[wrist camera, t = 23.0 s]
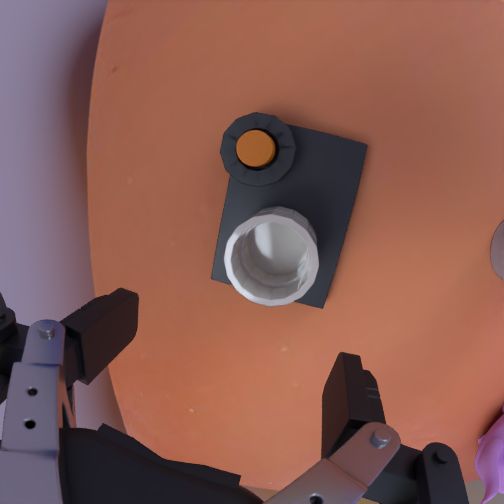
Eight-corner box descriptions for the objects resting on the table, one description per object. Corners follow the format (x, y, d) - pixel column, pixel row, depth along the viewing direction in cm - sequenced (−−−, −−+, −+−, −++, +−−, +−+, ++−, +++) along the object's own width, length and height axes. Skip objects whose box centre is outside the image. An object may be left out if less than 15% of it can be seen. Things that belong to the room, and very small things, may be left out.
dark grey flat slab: (207, 271, 28) (196, 283, 25) (238, 114, 24) (229, 107, 21) (322, 302, 27) (323, 317, 24) (365, 143, 23) (372, 139, 20)
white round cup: (234, 269, 26) (217, 292, 21) (249, 197, 24) (233, 205, 20) (305, 288, 25) (304, 315, 21) (325, 216, 24) (329, 228, 19)
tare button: (237, 162, 23) (232, 162, 21) (244, 129, 22) (240, 127, 20) (271, 169, 22) (268, 170, 21) (278, 136, 21) (276, 133, 20)
